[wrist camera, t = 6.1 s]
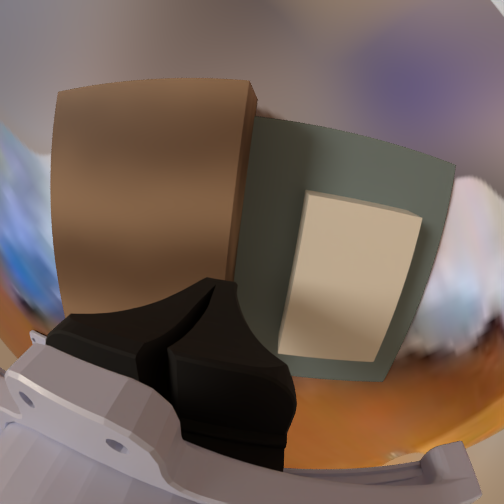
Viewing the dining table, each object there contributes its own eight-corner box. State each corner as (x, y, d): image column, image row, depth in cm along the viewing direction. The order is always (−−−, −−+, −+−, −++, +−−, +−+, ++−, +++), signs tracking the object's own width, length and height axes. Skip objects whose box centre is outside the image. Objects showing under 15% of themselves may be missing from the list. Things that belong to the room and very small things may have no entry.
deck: (224, 372, 20) (213, 412, 16) (104, 341, 20) (80, 371, 16) (257, 99, 13) (249, 80, 10) (98, 99, 14) (58, 91, 10)
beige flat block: (277, 353, 16) (278, 333, 18) (373, 362, 15) (366, 343, 17) (309, 194, 13) (305, 189, 15) (422, 218, 12) (407, 210, 14)
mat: (382, 379, 19) (383, 381, 18) (225, 362, 19) (224, 365, 19) (453, 164, 13) (455, 165, 13) (255, 116, 14) (254, 116, 14)
